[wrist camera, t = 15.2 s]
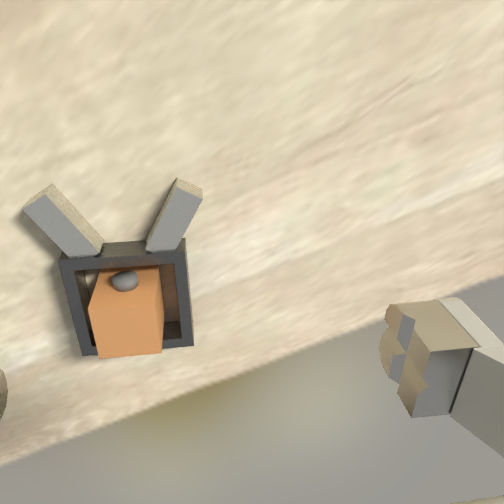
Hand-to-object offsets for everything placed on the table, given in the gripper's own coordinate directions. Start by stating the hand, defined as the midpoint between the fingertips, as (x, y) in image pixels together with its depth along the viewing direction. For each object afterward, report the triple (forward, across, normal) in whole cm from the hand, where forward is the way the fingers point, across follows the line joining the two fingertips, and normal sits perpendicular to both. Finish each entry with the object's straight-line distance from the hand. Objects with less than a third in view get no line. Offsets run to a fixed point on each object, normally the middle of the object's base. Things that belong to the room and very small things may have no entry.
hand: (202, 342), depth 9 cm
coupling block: (+27, +5, +17) cm, 32 cm away
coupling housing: (+27, +5, +14) cm, 31 cm away
